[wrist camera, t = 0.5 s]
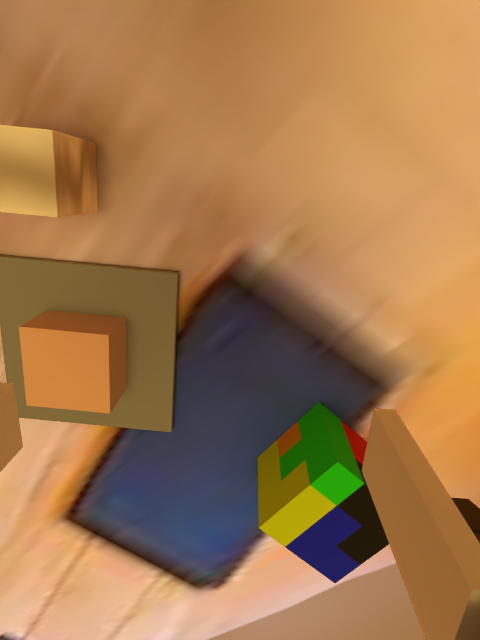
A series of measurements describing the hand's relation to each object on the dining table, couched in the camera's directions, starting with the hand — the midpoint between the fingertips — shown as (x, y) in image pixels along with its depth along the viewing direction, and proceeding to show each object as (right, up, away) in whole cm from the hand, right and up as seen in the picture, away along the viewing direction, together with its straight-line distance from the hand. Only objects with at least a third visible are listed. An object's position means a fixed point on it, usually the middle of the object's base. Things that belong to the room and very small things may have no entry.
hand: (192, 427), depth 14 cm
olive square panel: (-14, +1, +27) cm, 30 cm away
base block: (-14, +1, +26) cm, 30 cm away
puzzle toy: (+11, -12, +31) cm, 35 cm away
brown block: (-15, +17, +22) cm, 31 cm away
